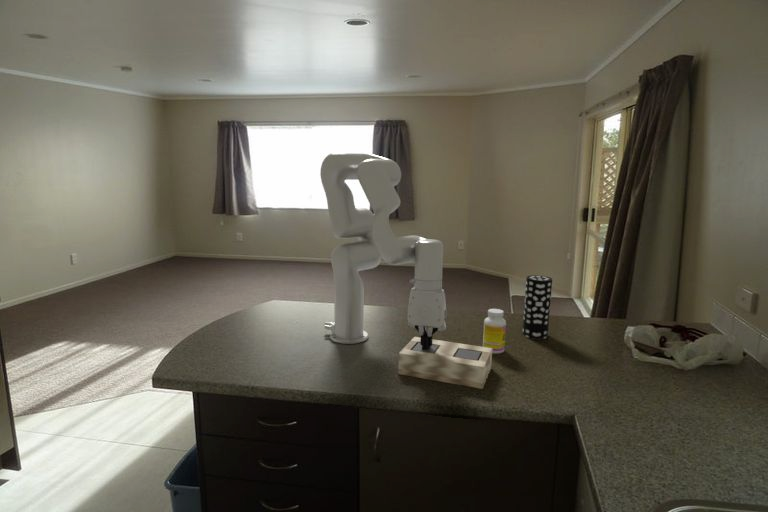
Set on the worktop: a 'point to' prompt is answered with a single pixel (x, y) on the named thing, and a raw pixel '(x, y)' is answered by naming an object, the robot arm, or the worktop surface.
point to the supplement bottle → (494, 331)
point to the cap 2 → (468, 354)
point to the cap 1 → (430, 350)
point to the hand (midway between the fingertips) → (426, 347)
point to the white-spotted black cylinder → (537, 306)
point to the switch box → (446, 363)
